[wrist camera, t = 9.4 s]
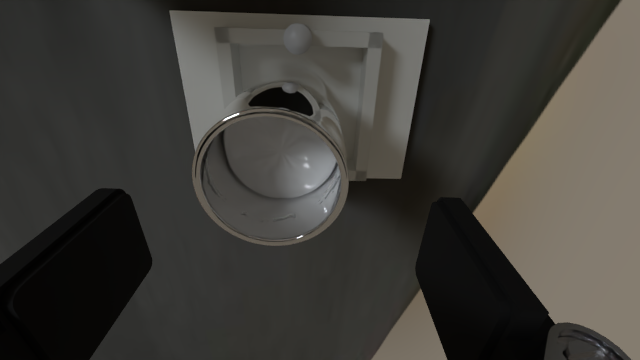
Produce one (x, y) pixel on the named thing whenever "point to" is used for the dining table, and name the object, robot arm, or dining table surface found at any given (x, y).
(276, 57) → the tray
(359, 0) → the dining table surface
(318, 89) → the beer glass
